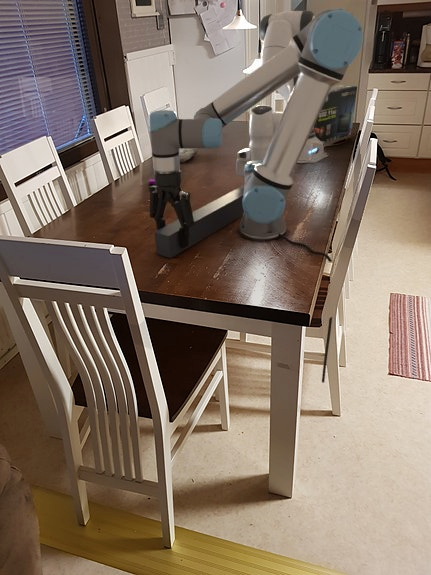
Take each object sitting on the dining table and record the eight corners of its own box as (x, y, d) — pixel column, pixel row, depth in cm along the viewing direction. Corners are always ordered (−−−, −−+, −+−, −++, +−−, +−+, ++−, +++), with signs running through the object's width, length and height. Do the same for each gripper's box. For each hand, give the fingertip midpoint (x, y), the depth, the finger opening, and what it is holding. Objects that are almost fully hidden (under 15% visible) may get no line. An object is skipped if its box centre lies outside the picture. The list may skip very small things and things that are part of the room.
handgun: (149, 183, 197) (148, 178, 196) (167, 181, 198) (166, 176, 197) (152, 198, 180) (152, 194, 179) (172, 196, 181) (171, 191, 180)
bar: (170, 258, 136) (168, 236, 132) (156, 253, 139) (154, 231, 135) (273, 196, 178) (274, 178, 174) (261, 193, 181) (261, 175, 177)
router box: (314, 151, 231) (318, 94, 217) (296, 148, 237) (299, 92, 224) (352, 138, 251) (358, 85, 238) (335, 135, 258) (340, 83, 245)
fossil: (184, 156, 217) (163, 136, 220) (174, 174, 223) (154, 154, 227) (205, 153, 231) (186, 134, 234) (195, 171, 237) (176, 152, 240)
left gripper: (204, 171, 125) (208, 246, 137) (148, 161, 136) (156, 231, 148) (187, 179, 120) (192, 256, 132) (130, 167, 131) (140, 240, 143)
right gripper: (290, 155, 163) (289, 192, 171) (242, 148, 174) (243, 183, 181) (282, 160, 159) (280, 197, 166) (233, 152, 170) (234, 188, 177)
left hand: (173, 243), depth 140 cm, fingers open, 8 cm apart
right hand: (260, 190), depth 174 cm, fingers closed on bar, 6 cm apart
